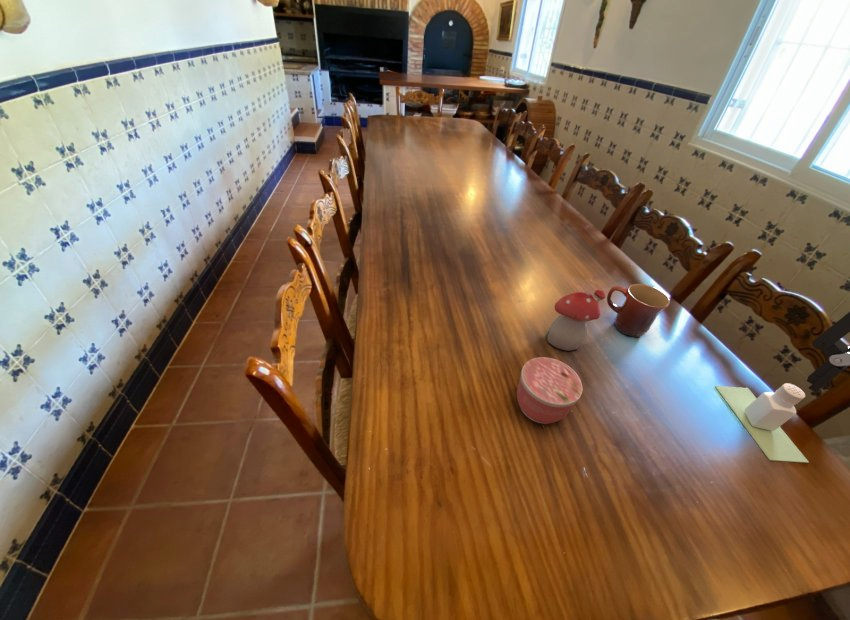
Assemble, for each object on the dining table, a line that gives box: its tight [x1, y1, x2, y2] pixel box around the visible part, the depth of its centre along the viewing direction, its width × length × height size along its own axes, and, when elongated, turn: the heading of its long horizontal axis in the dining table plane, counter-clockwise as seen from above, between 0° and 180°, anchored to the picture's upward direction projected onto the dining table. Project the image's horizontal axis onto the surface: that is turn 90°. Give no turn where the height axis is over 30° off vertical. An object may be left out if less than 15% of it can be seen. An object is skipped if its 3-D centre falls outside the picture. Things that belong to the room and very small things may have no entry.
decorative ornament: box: [545, 289, 607, 352], centre depth 76 cm, size 9×7×15 cm
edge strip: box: [714, 385, 810, 464], centre depth 68 cm, size 16×7×1 cm, turn 179°
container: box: [516, 356, 583, 425], centre depth 65 cm, size 10×10×8 cm
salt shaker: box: [745, 382, 806, 431], centre depth 65 cm, size 4×4×10 cm
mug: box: [606, 283, 671, 338], centre depth 84 cm, size 12×9×10 cm
